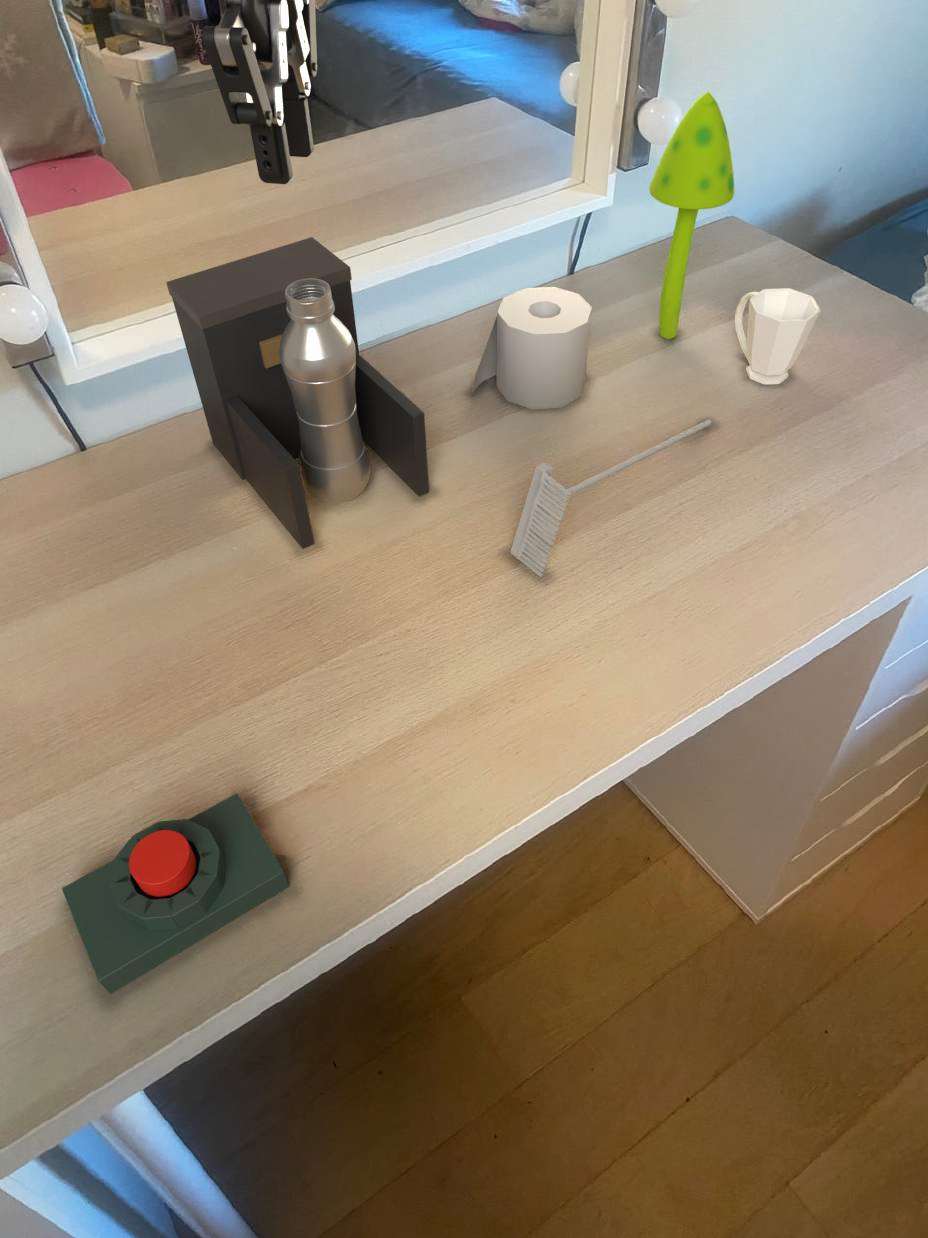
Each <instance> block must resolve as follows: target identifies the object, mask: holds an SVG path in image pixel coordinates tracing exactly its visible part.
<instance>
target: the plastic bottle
mask: <svg viewBox="0 0 928 1238" xmlns="http://www.w3.org/2000/svg"><path fill="white" fill-rule="evenodd" d="M285 296H286V302H287V307H286V308H287V314H288V316H289V318H290V319H291V320H290V322H289V324H288V325H287V327H286V328H285V331H284V333H283V335H282V337H281V340H280V347H279V357H280V361H281V365H282V367H283V370H284V373H285V376H286V379H287V382H288V384H289V387H290V390H291V393H292V397H293V401H294V405H295V409H296V412H297V417H298V421H299V430H300V441H301V453H300V457H299V459H300V460H299V462H300V463H299V466H300V473H301V478H302V480H303V482H304V484H305V487H306V489H307V490H308V492H310V493H311V494H312V495H313V496H314V497H316V499H319V500H321V501H323V502H325V503H333V504H334V503H337V504H338V503H344V502H348V501H351V500H353V499H355V498H357V497H358V496H359V495H360V494H362V492H363V491H364V490H365V488H366V487H367V485H368V484H369V481H370V474H371V460H370V456H369V453H368V449H367V445H366V444H365V443H364V442H363V439H362V434H361V430H360V425H359V421H358V416H357V408H356V394H355V367H356V349H355V343H354V341H353V338H352V336H351V334H350V332H349V330H348V329H347V328H346V327H345V326H344V325H343V323H342V322H341V321H340V320H339V319H338V318H336V317H335V316H334V315H333V313H334V310H335V308H334V302H333V300H332V295H331V288H330V286H329V284H328V283H327V282H325V281H323V280H320V279H314V278H308V279H301V280H298V281H295V282H293V283H291V284H290V285H289V286H287V288H286V290H285Z"/></svg>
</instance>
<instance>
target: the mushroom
mask: <svg viewBox="0 0 928 1238" xmlns="http://www.w3.org/2000/svg"><path fill="white" fill-rule="evenodd" d="M734 175H735V174H734V166H733V158H732V152H731V145H730V139H729V135H728V131H727V126H726V123H725V119H724V117H723V113H722V111H721V108H720V106H719V104H718V102H717V100H716V98H715V97H714V96H713V95H712V94H711V93H710V92H709V91H706V92H705V93H704V94H702V95H701V96H700V97H698V98H697V99H696V100H695V101H694V103H693V104H692V105H690V108H689V109H688V110H687V111H686V112H685V114H684V116H683V117H682V119H681V120H680V122H679V124H678V125H677V127H676V129H675V130H674V132H673V134H672V136H671V137H670V139H669V141H668V143H667V145H666V147H665V149H664V151H663V153H662V155H661V157H660V160H659V162H658V164H657V167H656V169H655V171H654V173H653V176H652V179H651V181H650V184H649V190H648V191H649V194H650V195H651V197H652V198H653V199H655V200H656V201H657V202H660V203H661V204H663V205H666V206H670V207H673V208H677V216H676V220H675V225H674V229H673V233H672V239H671V242H670V247H669V251H668V255H667V259H666V265H665V270H664V276H663V281H662V286H661V287H662V288H661V293H660V301H659V302H660V303H659V320H658V321H659V326H658V327H659V333H658V334H659V336H660V337H661V338H664V339H674V338H675V337H677V330H678V325H679V320H680V319H679V318H680V313H681V306H682V302H683V301H682V300H683V294H684V287H685V282H686V281H685V280H686V275H687V269H688V261H689V257H690V252H691V245H692V241H693V237H694V236H693V235H694V231H695V226H696V220H697V218H698V213H699V210H708V209H709V210H711V209H715V208H718V207H722V206H724V205H726V204H729V202H731V201H732V200H733V199H734V196H735V177H734Z"/></svg>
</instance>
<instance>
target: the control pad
mask: <svg viewBox="0 0 928 1238" xmlns="http://www.w3.org/2000/svg"><path fill="white" fill-rule="evenodd" d="M161 830H171V831H175V832H178V833H180V834H181V835H183V836H184V837H185V838H186V840H187V841H188V843H189V845H190V847H191V849H192V851H193V853H194V855H195V858H196V869H195V872H194V875H193V877H192V879H191V880H190V882H189V883H188V884H187V885H186V886H185V887H184V888H183V889H181V890H180V891H178V892H177V893H175V894H172V895H169V896H164V897H156V896H151V895H149V894H147V893H145V892H144V891H143V890H142V889H141V888H140V887H139V885H138V883H137V882H136V880H135V879H134V877H133V876H132V874H131V872H130V868H129V859H130V855H131V853H132V851H133V849H134V847H135V846H136V845H137V844H138V842H139V841H140V840H142V839H143V838H144V837H146V836H147V835H149V834H151V833H153V832H156V831H161ZM289 887H290V885H289V882H288V880H287V877H286V874H285V872H284V870H283V868H282V866H281V865H280V863H279V861H278V859H277V858H276V856H275V854H274V853H273V851H272V850H271V848H270V846H269V844H268V843H267V841H266V839H265V838H264V836H263V833H262V832H261V830H260V828H259V827H258V825H257V824H256V821H254V818H253V816H252V815H251V813H250V812H249V810H248V808H247V806H246V805H245V803H244V801H243V800H242V798H241V797H240V795H239V793H238V792H236V793H233V794H232V795H230V796H228V797H227V798H225V799H223V800H221V801H219V802H218V803H216V804H214V805H212V806H210V807H208V808H206V809H204V810H203V811H201V812H199V813H197V814H196V815H194V816H192V817H190V818H188V819H187V818H182V819H169V820H159V821H157V822H155V823H153V824H152V825H149V826H147V827H146V828H144V829H142V830H140V831H138V832H136V833H134V835H132V836H131V837H130V839H128V841H127V842H126V843H125V844H124V846H123V847H122V849H121V850H120V851H119V852H118V854H116V856H115V857H114V859H113V860H111V861H110V862H107V863H105V864H103V865H102V866H100V867H98V868H97V869H94V870H93V871H91V872H89V873H87V874H86V875H83V876H82V877H80V878H78V879H76V880H74V881H72V882H71V883H69V884H67V885H65V886H63V887H62V888H61V891H62V893H63V896H64V899H65V900H66V903H67V906H68V908H69V911H70V914H71V916H72V919H73V921H74V924H75V926H76V929H77V931H78V933H79V936H80V938H81V941H82V943H83V946H84V948H85V951H86V953H87V956H88V959H89V961H90V963H91V967H92V968H93V971H94V974H95V976H96V978H97V979H96V980H97V981H98V982H99V984H100V985H101V986H102V987H103V988H104V989H105V990H106V991H107V992H108V994H110V995H111V994H113V993H115V992H116V991H118V990H120V989H122V988H123V987H125V986H126V985H128V984H130V983H132V982H133V981H135V980H137V979H138V978H140V977H141V976H143V975H145V974H147V973H149V972H150V971H152V970H153V969H156V967H158V966H160V965H162V964H163V963H165V962H167V961H168V960H170V959H172V958H173V957H174V956H177V955H178V954H180V953H181V952H183V951H185V950H187V949H188V948H190V947H191V946H193V945H195V944H197V943H198V942H200V941H201V940H203V939H205V938H207V937H208V936H210V935H212V934H213V933H215V932H216V931H218V930H220V929H222V928H223V927H225V926H227V925H228V924H230V923H231V922H233V921H235V920H237V919H238V918H240V917H241V916H244V915H245V914H247V913H248V912H250V911H252V910H253V909H256V908H257V907H259V906H260V905H262V904H263V903H265V902H267V901H269V900H270V899H271V898H274V897H275V896H276V895H278V894H280V893H281V892H283V891H285V890H286V889H289Z"/></svg>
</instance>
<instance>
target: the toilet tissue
mask: <svg viewBox="0 0 928 1238" xmlns="http://www.w3.org/2000/svg"><path fill="white" fill-rule="evenodd" d="M592 310H593V307H592V306H591V305H590V304H589V303H588V302H587V301H586V300H585V299H584V298H583V296H582V295H581V294H580V293H577V292H574V291H570V290H566V289H563V288H560V287H556V286H541V287H539V286H538V287H524V288H522V289H520V290H517V291H515V292H513V293H511V294H509V295H506V296H504V297H503V298H502V301H501V302H500V305H499V307H498V309H497V312H496V317H495V320H494V323H493V326H492V329H491V331H490V334H489V336H488V340H487V342H486V344H485V348H484V350H483V353H482V356H481V359H480V361H479V364H478V367H477V370H476V372H475V374H474V375H475V376H474V380H473V384H472V389H471V392H470V394H472V393H474V391H475V390H477V388H478V387H479V385H481V384H482V382H484V381H485V380H488V379H490V378H492V377H494V376H496V388H497V389H498V391H499V392H500V393H501V395H502V396H503V397H504V398H505V399H506V401H507V402H510V403H512V404H515V405H517V406H521V407H524V408H527V409H529V410H544V409H545V410H546V409H560V408H563V407H565V406H566V405H568V404H570V403H572V402H574V401H576V400H577V399H579V398H581V397H582V393H583V389H584V386H585V384H586V383H585V382H586V376H587V375H586V373H587V366H588V365H587V364H588V363H587V362H588V354H589V353H588V352H589V342H590V331H591V321H592Z"/></svg>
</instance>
